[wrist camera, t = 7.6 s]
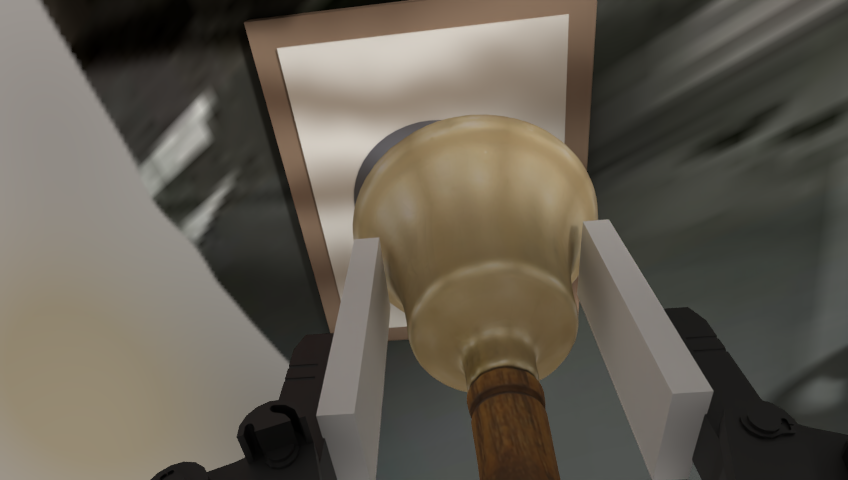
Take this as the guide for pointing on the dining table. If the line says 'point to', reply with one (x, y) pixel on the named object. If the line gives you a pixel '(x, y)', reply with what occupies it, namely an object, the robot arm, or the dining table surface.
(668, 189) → the dining table surface
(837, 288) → the dining table surface
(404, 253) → the hand bell
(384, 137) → the drawing board
